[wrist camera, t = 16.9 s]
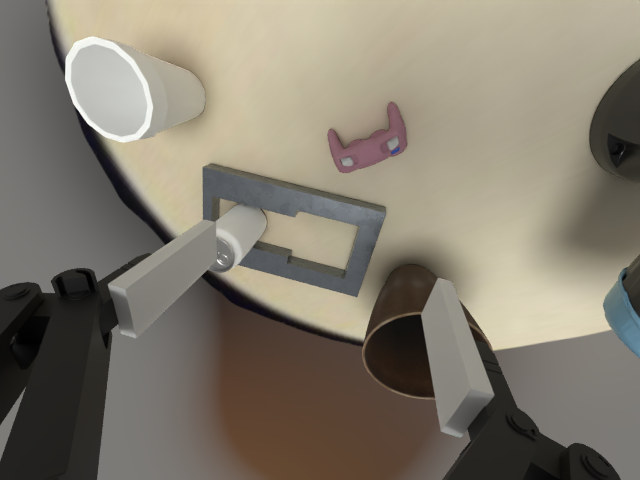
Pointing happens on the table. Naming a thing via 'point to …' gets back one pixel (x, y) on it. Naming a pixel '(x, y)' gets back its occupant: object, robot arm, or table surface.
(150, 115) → the foam cup
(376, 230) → the keyhole plate
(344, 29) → the table surface
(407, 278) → the plant pot
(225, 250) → the can
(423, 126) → the table surface
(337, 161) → the video game controller
